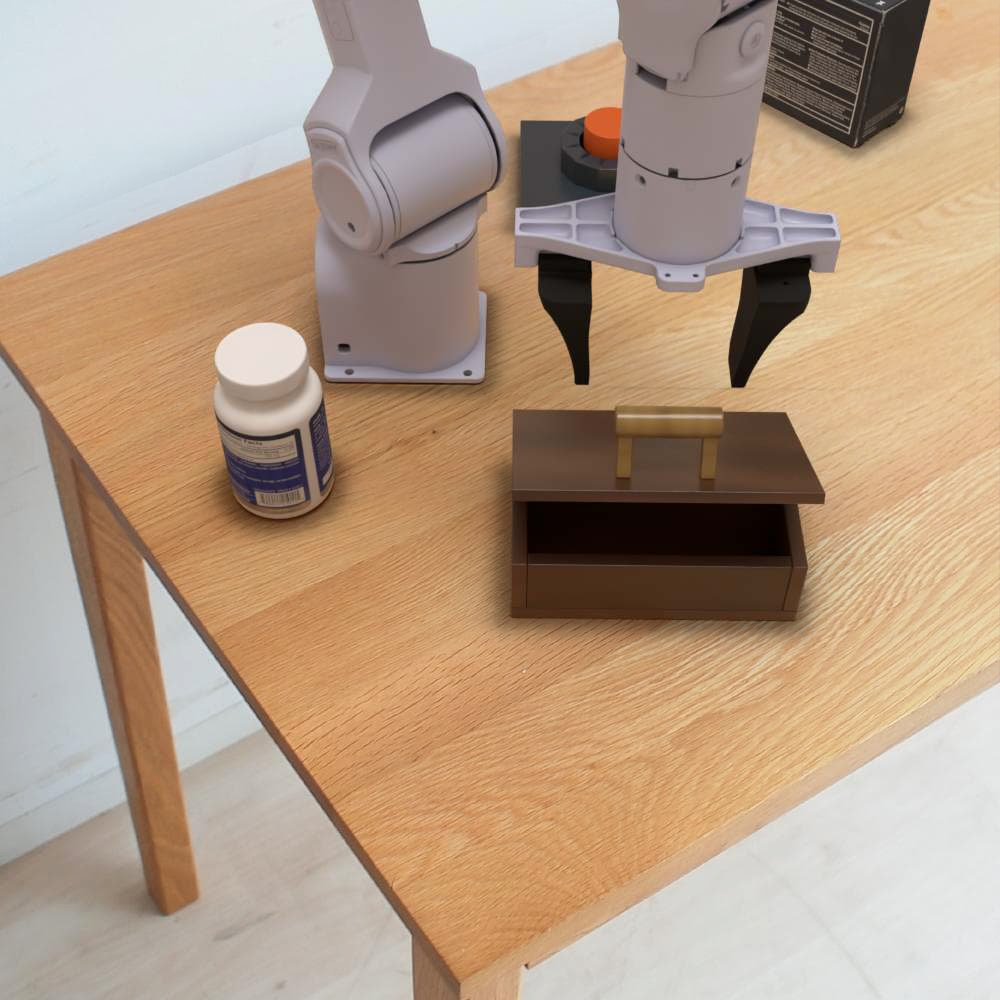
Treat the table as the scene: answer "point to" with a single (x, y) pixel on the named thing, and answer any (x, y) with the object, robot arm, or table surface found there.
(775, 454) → the lid
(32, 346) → the table surface
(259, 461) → the pill bottle
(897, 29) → the small box
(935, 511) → the table surface
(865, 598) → the table surface
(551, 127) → the control block
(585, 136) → the button
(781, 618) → the compartment
